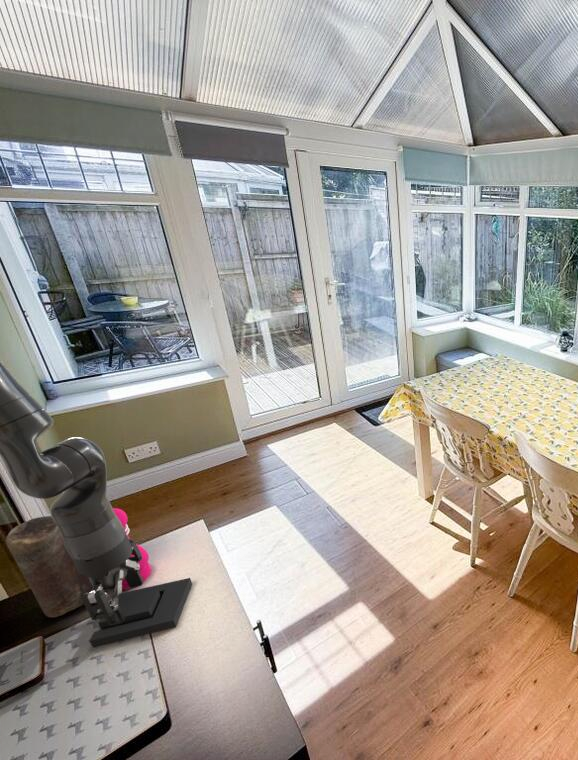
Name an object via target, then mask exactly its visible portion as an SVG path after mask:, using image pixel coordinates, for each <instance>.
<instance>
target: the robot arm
mask: <svg viewBox="0 0 578 760" xmlns="http://www.w3.org/2000/svg"><path fill="white" fill-rule="evenodd" d="M54 422H55V421H54V419H53V418H52V416H51V415H50V414H49V413H48V412H47V410H45V408H44V407H43V406H42V405H41V404H40V403H38V400H36V399H35V398H34V397H33V396H32V395H31V394H30V393H29V392H28V391H27V390H26V389H25V387H23V386H22V384H20V383H19V381H18V380H17V379H16V378H15V377H14V376H13V375H12V373H11V372H10V371H9V370H8V368H7V367H6V366H5V364H4V363H3V361H2V360H1V359H0V459H1V461H2V463H3V465H4V467H5V470H6V472H7V474H8V476H9V478H10V480H11V482H12V484H13V486H15V488H16V489H17V490H18V491H19V492H21V493H22V494H24V495H25V496H28V497H31V498H34V499H38V500H39V499H40V500H44V499H45V500H47V499H52V498H54V497H57V496H59V497H57V498H56V499H55V500H54V501H53V502H52V504H51V506H50V507H49V514H50V516H51V517H52V519H53V521H54V522H55V524H56V526H57V528H58V530H59V532H60V533H61V536H62V539H63V543H64V546H65V548H66V550H67V551H68V553H69V555H70V557H71V559H72V561H73V563H74V565H75V566H76V568H77V570H78V572H79V573H80V574H81V575H84V576H87V577H89V579H91V584H92V586H93V589H92V590H91V592H89V593H85V594H83V596H82V600H83V602H84V604H83V605H84V607H85V608H86V611H87V613H88V615H89V617H90V619H91V621H99V620H100V619H102V618H105V619H106V621H107V622H108V625H110V626H111V625H116V624H120V623H123V622H124V620H125V616H124V614H123V612H122V610H121V608H120V606H118V597H119V596H120V595H121V594H122V593H123V590H122V581H123V579H124V578H125V579H126V581H127V583H128V585H129V587H130V589H133V588H138V587H141V586H143V584H144V582H145V581H143V578H142V576H141V574H140V572H139V568H140V565H139V564H138V562H139V561H141V560H142V554H141V552H140V550H139V548H138V546H137V545H138V543H136V541H135V539H134V538H132V537H131V538H130V539H128V537H127V534H126V532H125V530H124V528H123V525H122V523H121V521H120V520H119V518H118V517H117V516H116V514H115V512H114V510H113V508H114V507H113V506H112V504H111V501H110V499H109V497H108V479H107V478H108V477H107V476H108V475H107V474H108V472H107V471H108V470H107V469H108V468H107V460H106V457H105V454H104V451H103V450H102V449H101V447H100V446H99V445H98V444H96V443H95V442H94V441H92V440H90V439H89V438H85V437H79V436H78V437H76V436H75V437H70V438H67V439H64V440H62V441H60V442H58V443H56V444H54V445H52V446H50V447H48V448H46V449H44V450H43V451H39V448H38V444H37V441H38V438H40V437H41V436H42V435H44V434H45V433H46V432H48V431H50V429H52V428H53V426H54ZM130 555H134V556H132V557H130ZM111 590H114V591H113V592H110V593H108V592H105V591H111ZM109 599H111V601H112V605H110V604H109V602H110V601H109Z"/></svg>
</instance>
